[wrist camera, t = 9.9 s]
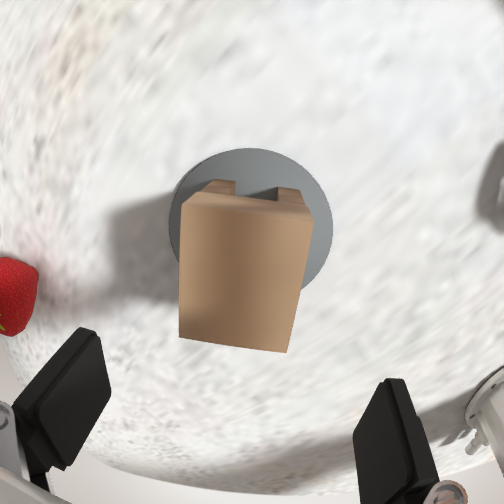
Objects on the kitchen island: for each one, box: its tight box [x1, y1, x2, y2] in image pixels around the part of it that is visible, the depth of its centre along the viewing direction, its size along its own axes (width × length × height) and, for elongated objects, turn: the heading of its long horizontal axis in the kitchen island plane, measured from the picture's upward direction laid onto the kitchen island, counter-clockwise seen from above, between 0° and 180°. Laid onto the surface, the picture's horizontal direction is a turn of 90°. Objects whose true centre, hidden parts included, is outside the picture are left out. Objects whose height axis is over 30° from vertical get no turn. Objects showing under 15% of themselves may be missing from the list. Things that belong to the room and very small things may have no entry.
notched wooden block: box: [179, 179, 314, 353], centre depth 19 cm, size 6×8×8 cm
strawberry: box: [0, 257, 38, 337], centre depth 22 cm, size 6×8×10 cm
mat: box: [169, 148, 333, 289], centre depth 23 cm, size 12×12×1 cm
